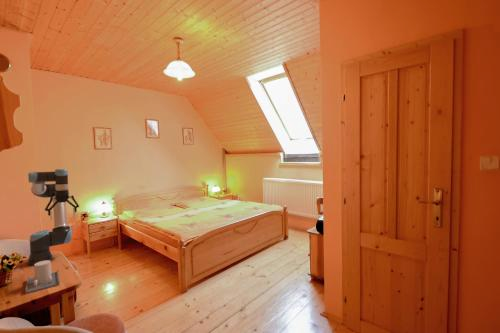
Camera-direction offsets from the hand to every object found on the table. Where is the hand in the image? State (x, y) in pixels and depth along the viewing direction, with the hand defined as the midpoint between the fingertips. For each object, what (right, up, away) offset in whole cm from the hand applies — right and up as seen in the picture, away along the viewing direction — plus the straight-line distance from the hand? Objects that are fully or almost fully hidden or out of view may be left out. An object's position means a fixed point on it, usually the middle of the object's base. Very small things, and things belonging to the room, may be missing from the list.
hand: (62, 218), depth 181 cm
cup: (+4, -37, -22) cm, 43 cm away
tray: (+4, -37, -22) cm, 43 cm away
